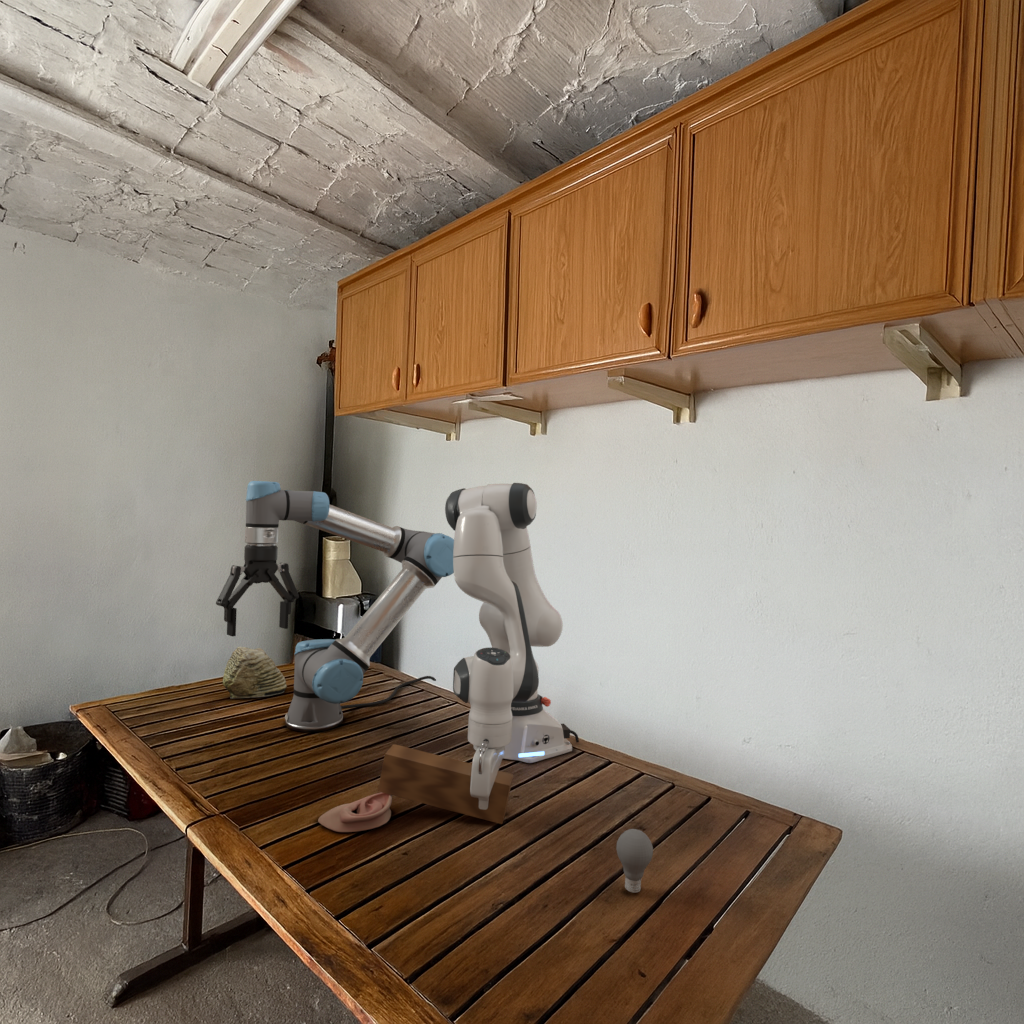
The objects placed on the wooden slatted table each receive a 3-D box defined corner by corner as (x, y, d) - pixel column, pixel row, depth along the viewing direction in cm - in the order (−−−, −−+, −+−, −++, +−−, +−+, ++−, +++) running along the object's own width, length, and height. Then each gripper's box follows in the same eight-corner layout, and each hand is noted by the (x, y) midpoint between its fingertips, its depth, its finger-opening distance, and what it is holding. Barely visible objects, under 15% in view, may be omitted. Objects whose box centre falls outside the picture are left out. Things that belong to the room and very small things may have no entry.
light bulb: (610, 879, 108) (613, 822, 108) (644, 879, 109) (647, 822, 109) (619, 902, 102) (622, 840, 102) (655, 901, 103) (658, 840, 103)
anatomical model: (310, 807, 121) (339, 781, 132) (309, 827, 121) (338, 800, 132) (375, 817, 118) (398, 790, 129) (374, 838, 118) (398, 809, 129)
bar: (377, 791, 127) (384, 753, 127) (386, 780, 133) (393, 743, 133) (502, 824, 124) (509, 785, 124) (506, 811, 130) (513, 774, 129)
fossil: (218, 695, 195) (220, 647, 195) (278, 685, 208) (279, 640, 207) (228, 703, 189) (230, 653, 188) (289, 692, 201) (290, 645, 201)
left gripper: (218, 547, 142) (215, 641, 142) (315, 544, 161) (311, 627, 162) (202, 544, 146) (199, 636, 147) (298, 542, 166) (295, 622, 166)
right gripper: (497, 753, 116) (494, 827, 117) (511, 716, 137) (508, 779, 137) (463, 749, 117) (460, 823, 117) (483, 713, 138) (480, 776, 138)
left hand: (258, 631), depth 154 cm, fingers open, 13 cm apart
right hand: (486, 799), depth 127 cm, fingers closed on bar, 5 cm apart
